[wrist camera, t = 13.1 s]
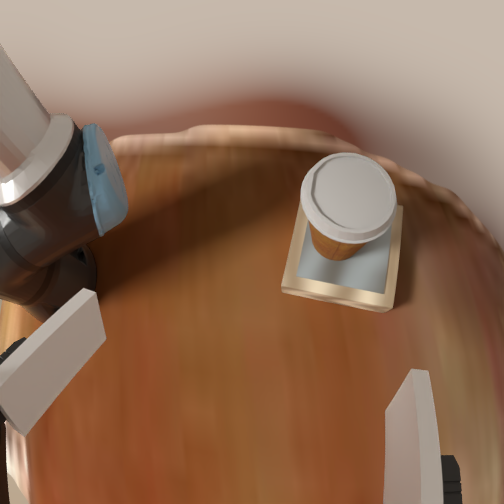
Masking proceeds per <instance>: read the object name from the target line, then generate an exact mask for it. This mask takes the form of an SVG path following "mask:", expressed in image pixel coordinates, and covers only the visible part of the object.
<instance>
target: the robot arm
mask: <svg viewBox="0 0 504 504" xmlns="http://www.w3.org/2000/svg"><path fill="white" fill-rule="evenodd" d="M127 212H128V199H127V194H126V189H125V186H124V182H123V179H122V176H121V172H120V169H119V167H118V164H117V161H116V158H115V156H114V153H113V151H112V149H111V146H110V144H109V142H108V140H107V138H106V136H105V134H104V132H103V131H102V129H101V128H100V127H99V126H98V125H97V124H90V125H85V126H84V127H83V128H82V129H81V130H80V129H79V128H78V127H77V125H76V124H75V123H74V121H73V120H72V119H71V117H70V116H68V115H67V114H62V113H61V114H60V113H57V114H49V113H48V112H47V110H46V109H45V108H44V106H43V105H42V103H41V102H40V101H39V99H38V98H37V97H36V96H35V94H34V92H33V91H32V90H31V88H30V87H29V85H28V84H27V83H26V82H25V80H24V78H23V77H22V75H21V74H20V73H19V71H18V70H17V68H16V67H15V65H14V64H13V62H12V61H11V59H10V58H9V57H8V55H7V54H6V52H5V51H4V49H3V47H2V46H1V44H0V299H2V300H5V301H8V302H12V303H15V304H18V305H21V306H22V307H23V308H24V309H25V310H27V311H28V312H29V313H30V314H31V315H32V316H34V317H35V318H36V319H37V320H39V321H41V322H43V323H44V324H42V325H41V326H40V327H39V328H38V329H37V330H36V331H35V332H34V333H33V334H32V335H31V336H30V337H29V338H28V339H26V338H25V337H24V338H22V339H20V340H18V341H16V342H14V343H13V344H12V345H11V346H10V347H9V348H8V349H7V350H6V352H3V353H2V354H1V355H0V504H10V502H9V492H8V481H7V466H6V427H5V424H4V422H5V421H6V420H7V421H8V422H9V424H10V425H11V426H12V427H13V428H14V429H15V430H16V431H18V432H19V433H20V434H21V435H23V436H24V437H25V436H26V435H27V434H28V432H29V431H30V430H31V428H32V427H33V426H34V425H35V423H36V422H37V421H38V420H39V418H40V417H41V416H42V415H43V413H44V412H45V411H46V410H47V408H48V407H49V406H50V405H51V404H52V402H53V401H54V400H55V399H56V397H57V396H58V395H59V394H60V393H61V391H62V390H63V389H64V388H65V387H66V385H67V384H68V383H69V382H70V381H71V379H72V378H73V377H74V376H75V375H76V374H77V372H78V371H79V370H80V369H81V368H82V366H83V365H84V364H85V363H86V362H87V361H88V359H89V358H90V357H91V356H92V355H93V354H94V353H95V351H96V350H97V349H98V348H99V347H100V346H101V344H102V343H103V342H104V341H105V340H106V335H105V331H104V326H103V322H102V318H101V313H100V309H99V304H98V299H97V294H96V292H94V290H95V286H96V276H97V274H96V264H95V260H94V257H93V254H92V252H91V251H90V249H89V248H88V246H87V245H86V244H87V243H89V242H91V241H93V240H95V239H97V238H99V237H101V236H103V235H104V234H105V233H106V232H107V231H109V230H110V229H112V228H113V227H115V226H117V225H118V224H120V223H121V222H122V221H123V220H124V219H125V217H126V215H127ZM460 481H461V478H460V468H459V465H458V463H457V461H456V459H455V457H454V456H453V455H440V445H439V436H438V428H437V420H436V413H435V407H434V400H433V394H432V388H431V383H430V377H429V372H428V371H426V370H418V369H411V370H410V371H409V373H408V375H407V377H406V378H405V380H404V382H403V383H402V385H401V387H400V388H399V390H398V392H397V393H396V395H395V396H394V398H393V400H392V401H391V403H390V404H389V406H388V407H387V409H386V410H385V480H384V498H383V504H462V494H461V491H462V490H461V483H460Z"/></svg>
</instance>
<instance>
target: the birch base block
mask: <svg viewBox="0 0 504 504" xmlns="http://www.w3.org/2000/svg"><path fill="white" fill-rule="evenodd" d="M402 217H403V206H401V205H397V211H396V215H395V218H394V220H393V222H392V224H391V226H390V227H389V228H388V229H387V231H386V232H384V233H383V234H382V235H381V236H379V237H377V238H376V239H374V240H372V241H369V242H368V243H366V244H365V245H364V246H363V247H362V248H361V249H360V250H358V251H357V252H356V253H355V254H354V255H353V256H351V257H350V258H348V259H345V260H341V261H334V260H329V259H327V258H325V257H323V256H322V255H320V254H319V253H318V252H317V250H316V249H315V248H314V245H313V243H312V238H311V232H310V226H309V221H308V218H307V216H306V214H305V212H304V210H303V207H302V203H301V199H300V204H299V209H298V213H297V218H296V223H295V227H294V232H293V236H292V241H291V245H290V250H289V254H288V259H287V263H286V267H285V272H284V276H283V280H282V285H281V288H282V292H283V293H288V294H292V295H297V296H302V297H307V298H311V299H316V300H321V301H326V302H331V303H336V304H341V305H346V306H351V307H356V308H361V309H366V310H371V311H376V312H381V313H385V312H387V311H388V310H390V309H392V308H393V303H394V296H395V289H396V281H397V273H398V264H399V254H400V244H401V232H402Z"/></svg>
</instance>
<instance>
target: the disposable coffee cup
mask: <svg viewBox="0 0 504 504" xmlns="http://www.w3.org/2000/svg"><path fill="white" fill-rule="evenodd" d="M301 203H302V207H303V210H304V212H305V214H306V216H307V218H308V221H309V226H310V232H311V238H312V243H313V245H314V248H315V249H316V250H317V252H318V253H319V254H320V255H322V256H323V257H325V258H327V259H329V260H334V261H341V260H345V259H348V258H350V257H351V256H353V255H354V254H355V253H356V252H357V251H358V250H360V249H361V248H362V247H363V246H364V245H365V244H366V243H368V242H369V241H372V240H374V239H376V238H377V237H379V236H381V235H382V234H383V233H384V232H386V231H387V229H388V228H389V227H390V226H391V224H392V222H393V220H394V218H395V215H396V211H397V199H396V193H395V188H394V185H393V183H392V180H391V178H390V176H389V175H388V173H387V172H386V171H385V170H384V169H383V168H382V167H381V166H380V165H379V164H378V163H377V162H375V161H373V160H372V159H370V158H368V157H366V156H363V155H360V154H356V153H345V152H342V153H337V154H332V155H329V156H327V157H325V158H323V159H322V160H320V161H319V162H318V163H317V164H316V165H315V166H313V167H312V168H311V169H310V170H309V172H308V173H307V175H306V176H305V178H304V180H303V183H302V187H301Z"/></svg>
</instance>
